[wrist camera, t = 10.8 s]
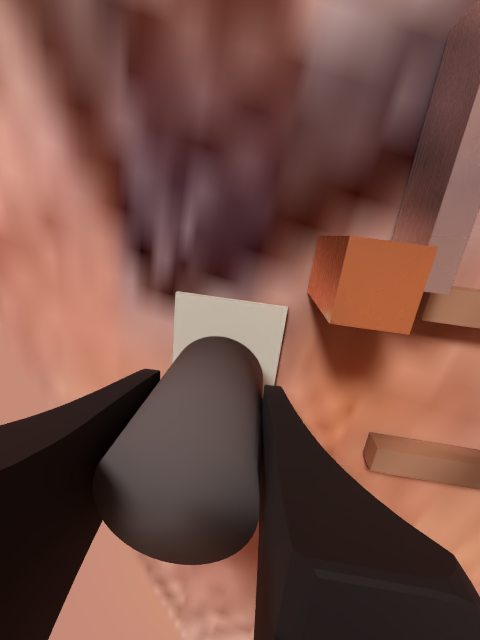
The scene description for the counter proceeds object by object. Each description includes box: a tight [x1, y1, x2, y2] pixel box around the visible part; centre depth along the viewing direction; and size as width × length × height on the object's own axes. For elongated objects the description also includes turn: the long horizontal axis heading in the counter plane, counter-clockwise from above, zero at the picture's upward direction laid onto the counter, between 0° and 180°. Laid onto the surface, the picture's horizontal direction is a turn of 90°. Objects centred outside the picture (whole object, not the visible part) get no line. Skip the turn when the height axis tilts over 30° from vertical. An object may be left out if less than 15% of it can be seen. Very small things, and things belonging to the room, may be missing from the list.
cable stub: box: [92, 336, 263, 565], centre depth 9 cm, size 4×4×6 cm
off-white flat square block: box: [173, 291, 288, 392], centre depth 15 cm, size 6×6×1 cm
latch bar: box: [307, 0, 480, 335], centre depth 9 cm, size 4×10×5 cm, turn 173°
